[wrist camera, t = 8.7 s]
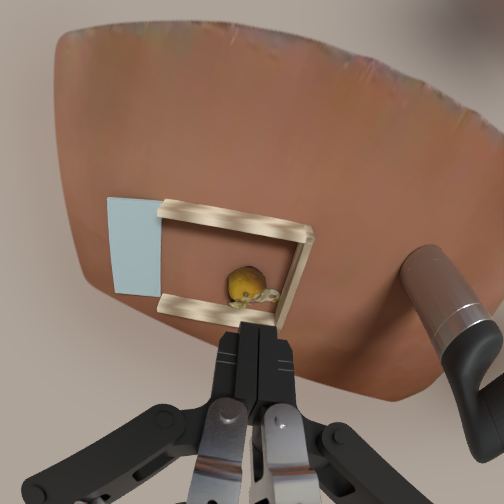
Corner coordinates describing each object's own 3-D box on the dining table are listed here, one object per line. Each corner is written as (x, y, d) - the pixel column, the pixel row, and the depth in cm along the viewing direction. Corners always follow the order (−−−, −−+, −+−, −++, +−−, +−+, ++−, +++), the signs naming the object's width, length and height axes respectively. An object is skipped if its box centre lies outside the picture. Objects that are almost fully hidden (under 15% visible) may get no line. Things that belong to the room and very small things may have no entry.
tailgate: (162, 202, 37) (107, 198, 36) (160, 297, 47) (115, 292, 45) (162, 201, 38) (108, 197, 36) (160, 295, 47) (115, 291, 45)
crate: (310, 225, 39) (314, 238, 36) (278, 318, 49) (279, 333, 46) (165, 198, 38) (157, 209, 35) (162, 297, 47) (157, 311, 44)
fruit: (234, 309, 48) (232, 325, 45) (214, 271, 44) (211, 286, 41) (282, 298, 46) (283, 314, 43) (267, 257, 42) (267, 272, 39)
